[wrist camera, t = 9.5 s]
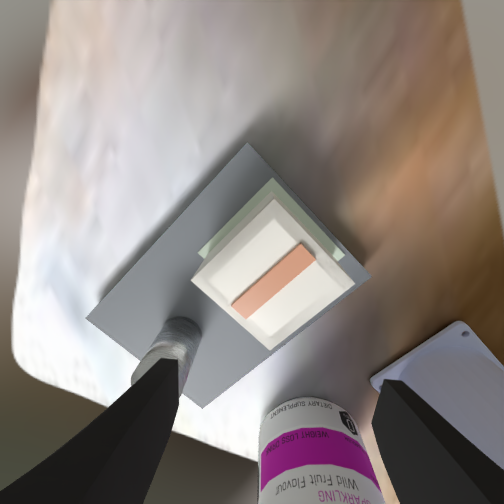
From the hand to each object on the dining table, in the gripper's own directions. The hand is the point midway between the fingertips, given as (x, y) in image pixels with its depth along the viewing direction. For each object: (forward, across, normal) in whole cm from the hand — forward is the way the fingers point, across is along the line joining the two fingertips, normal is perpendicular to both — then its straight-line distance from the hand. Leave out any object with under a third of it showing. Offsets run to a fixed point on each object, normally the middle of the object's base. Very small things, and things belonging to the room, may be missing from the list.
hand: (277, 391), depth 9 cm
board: (+10, +3, +1) cm, 10 cm away
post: (+8, +6, +4) cm, 11 cm away
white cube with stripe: (+8, 0, -2) cm, 8 cm away
